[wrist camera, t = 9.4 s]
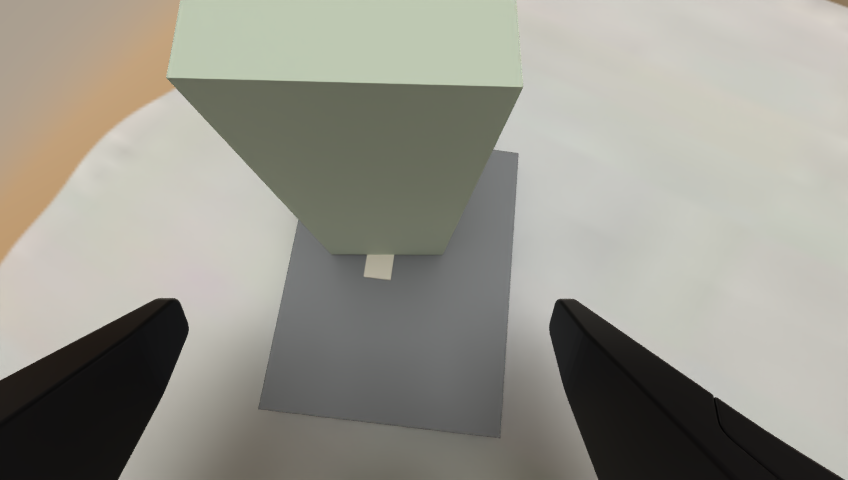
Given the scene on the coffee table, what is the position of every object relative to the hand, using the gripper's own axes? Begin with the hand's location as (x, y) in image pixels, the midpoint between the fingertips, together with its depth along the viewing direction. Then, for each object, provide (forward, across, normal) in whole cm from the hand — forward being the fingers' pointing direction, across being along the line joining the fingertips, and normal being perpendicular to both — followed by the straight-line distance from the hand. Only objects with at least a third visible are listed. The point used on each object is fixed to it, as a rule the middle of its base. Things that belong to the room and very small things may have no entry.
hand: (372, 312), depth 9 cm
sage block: (+9, 0, +1) cm, 9 cm away
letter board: (+8, -1, +4) cm, 9 cm away
